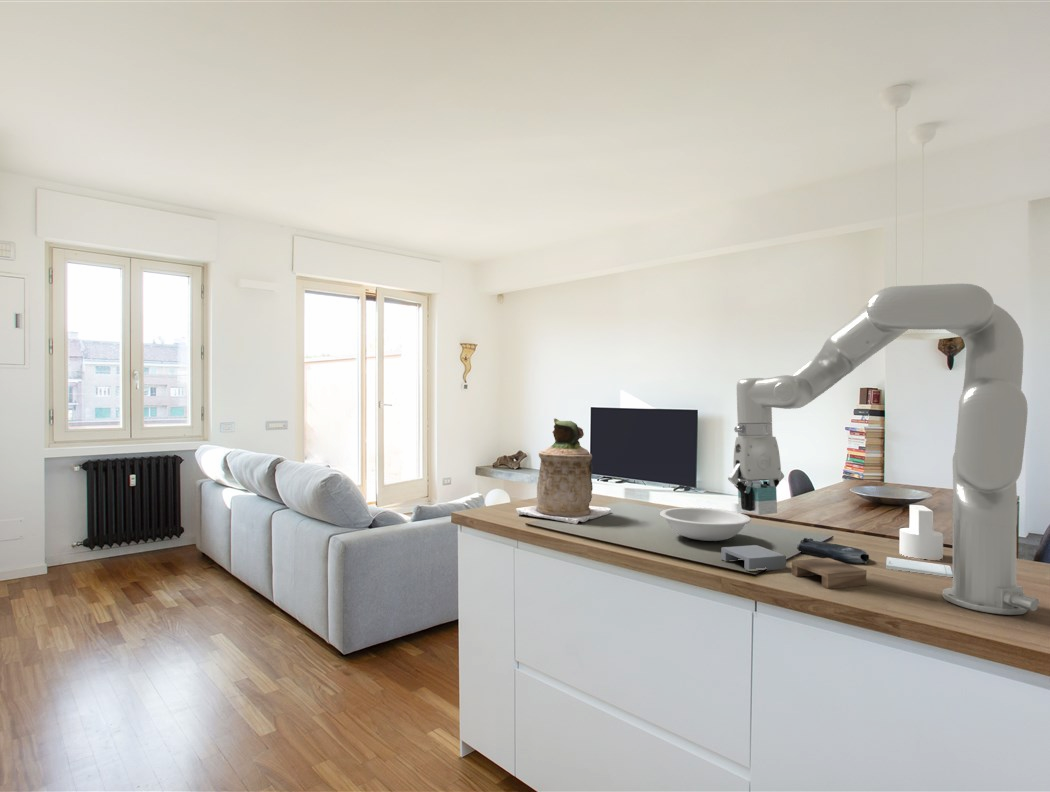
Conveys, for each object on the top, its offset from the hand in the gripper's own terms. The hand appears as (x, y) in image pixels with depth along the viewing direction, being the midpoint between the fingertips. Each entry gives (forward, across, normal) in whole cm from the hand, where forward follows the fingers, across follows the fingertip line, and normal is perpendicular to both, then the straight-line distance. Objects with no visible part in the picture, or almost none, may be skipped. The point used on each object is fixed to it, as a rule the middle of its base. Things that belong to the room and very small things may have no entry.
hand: (757, 508), depth 134 cm
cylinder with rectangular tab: (+15, +46, -3) cm, 48 cm away
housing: (+1, 0, 0) cm, 1 cm away
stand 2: (+14, +7, -13) cm, 20 cm away
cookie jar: (+11, -22, +68) cm, 72 cm away
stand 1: (+13, -1, +1) cm, 13 cm away
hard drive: (+15, +34, -12) cm, 39 cm away
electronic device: (+14, +24, +2) cm, 28 cm away
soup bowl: (+13, +3, +26) cm, 29 cm away
